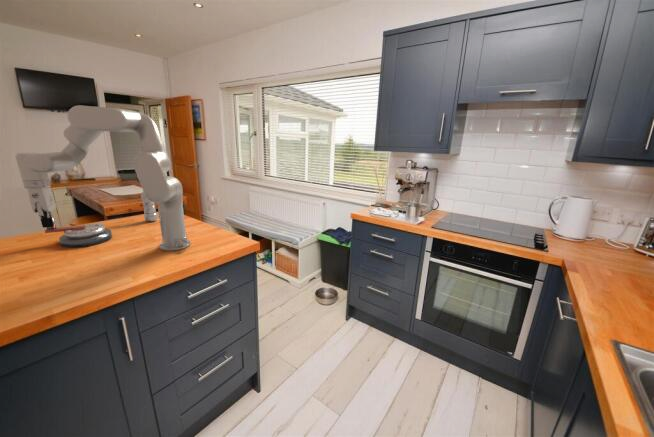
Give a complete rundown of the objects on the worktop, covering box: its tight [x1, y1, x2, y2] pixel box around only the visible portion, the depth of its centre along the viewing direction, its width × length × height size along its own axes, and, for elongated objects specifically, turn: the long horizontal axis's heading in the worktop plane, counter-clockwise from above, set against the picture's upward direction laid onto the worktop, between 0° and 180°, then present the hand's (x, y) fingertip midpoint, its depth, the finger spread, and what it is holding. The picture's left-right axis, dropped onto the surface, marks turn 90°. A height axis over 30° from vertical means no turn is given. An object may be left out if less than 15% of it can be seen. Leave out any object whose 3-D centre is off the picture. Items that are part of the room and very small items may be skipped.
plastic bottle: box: [140, 190, 159, 222], centre depth 154 cm, size 6×7×20 cm
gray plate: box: [58, 228, 113, 249], centre depth 125 cm, size 18×18×3 cm
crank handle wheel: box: [44, 216, 106, 239], centre depth 122 cm, size 14×20×9 cm
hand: (48, 226), depth 115 cm, fingers closed
